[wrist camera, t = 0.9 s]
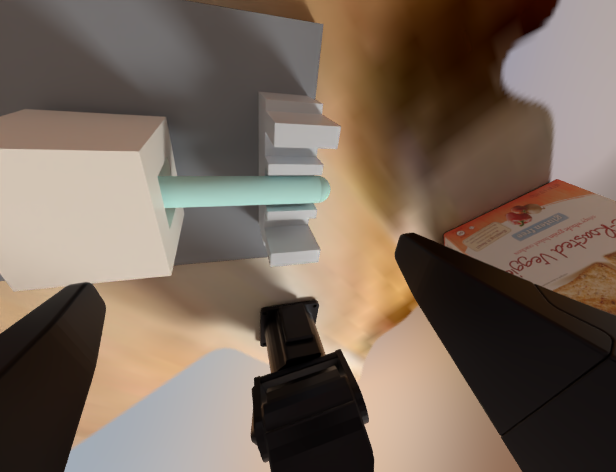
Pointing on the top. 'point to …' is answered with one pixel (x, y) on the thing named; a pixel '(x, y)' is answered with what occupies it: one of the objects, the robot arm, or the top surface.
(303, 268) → the top surface
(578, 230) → the cracker box
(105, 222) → the sleeve
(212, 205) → the pale teal rod
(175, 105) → the board
